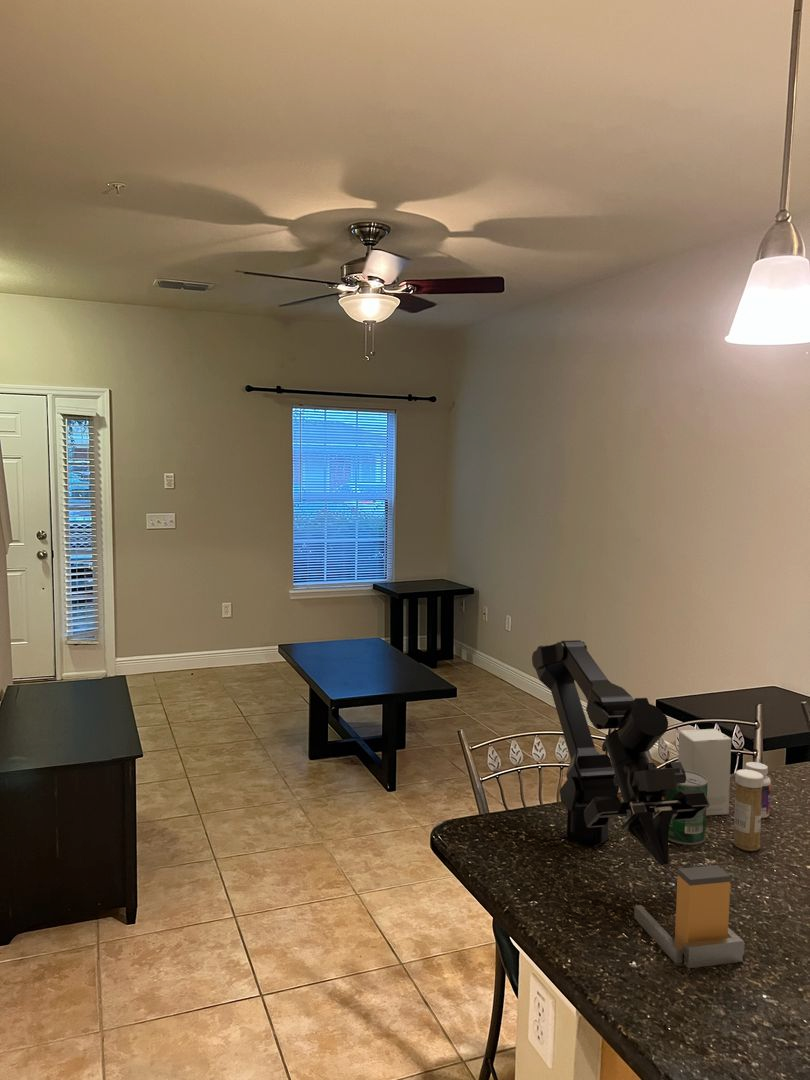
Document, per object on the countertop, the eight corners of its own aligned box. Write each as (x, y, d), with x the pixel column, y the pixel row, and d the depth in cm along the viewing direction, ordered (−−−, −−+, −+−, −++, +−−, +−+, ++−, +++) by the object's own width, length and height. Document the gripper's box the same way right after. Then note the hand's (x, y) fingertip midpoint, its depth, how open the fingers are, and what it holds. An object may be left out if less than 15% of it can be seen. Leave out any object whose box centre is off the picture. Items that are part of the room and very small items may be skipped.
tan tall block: (674, 944, 105) (677, 868, 104) (713, 940, 106) (717, 865, 105) (686, 958, 102) (690, 879, 101) (727, 953, 103) (730, 875, 102)
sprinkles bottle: (765, 851, 135) (769, 777, 134) (741, 852, 134) (745, 778, 134) (750, 839, 140) (753, 767, 139) (727, 840, 139) (730, 768, 138)
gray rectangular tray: (620, 909, 115) (621, 884, 115) (681, 902, 118) (682, 879, 117) (680, 976, 100) (681, 948, 99) (749, 967, 102) (750, 940, 101)
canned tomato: (651, 833, 142) (653, 775, 141) (675, 822, 146) (678, 766, 146) (689, 849, 135) (692, 788, 135) (714, 837, 140) (716, 779, 139)
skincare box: (713, 802, 156) (716, 727, 155) (730, 816, 150) (734, 738, 149) (674, 803, 155) (677, 728, 154) (690, 817, 149) (693, 739, 148)
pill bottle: (774, 819, 149) (776, 770, 148) (746, 818, 149) (748, 769, 148) (761, 807, 154) (764, 760, 153) (734, 807, 154) (737, 760, 153)
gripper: (594, 745, 115) (627, 851, 105) (705, 739, 119) (747, 840, 109) (571, 776, 123) (599, 877, 113) (675, 770, 127) (711, 866, 117)
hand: (664, 865), depth 113 cm, fingers closed
